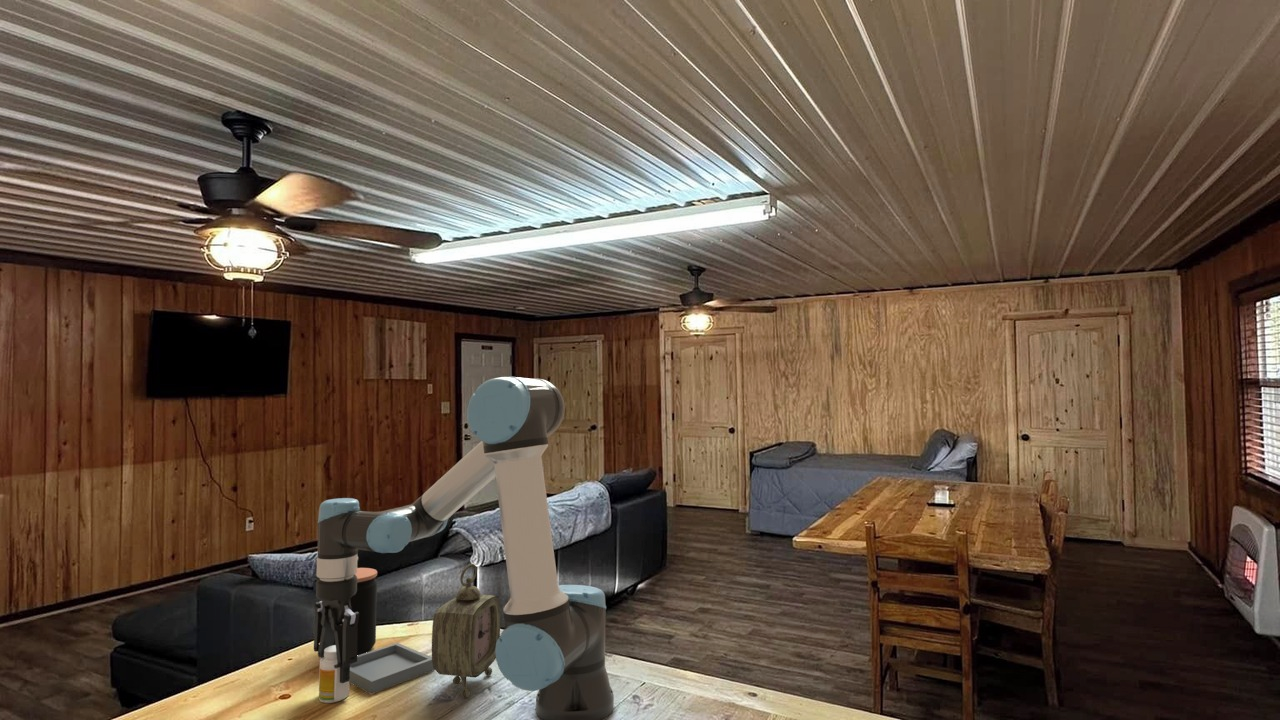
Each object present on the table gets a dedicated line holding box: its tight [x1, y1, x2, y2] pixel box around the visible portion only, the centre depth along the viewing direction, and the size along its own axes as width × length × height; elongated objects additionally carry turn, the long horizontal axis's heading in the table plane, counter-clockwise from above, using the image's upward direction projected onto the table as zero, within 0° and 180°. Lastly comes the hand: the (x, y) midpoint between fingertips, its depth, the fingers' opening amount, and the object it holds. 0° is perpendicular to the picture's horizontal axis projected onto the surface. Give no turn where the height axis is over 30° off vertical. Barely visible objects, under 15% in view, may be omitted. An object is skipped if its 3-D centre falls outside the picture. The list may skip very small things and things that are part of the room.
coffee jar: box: [334, 567, 378, 655], centre depth 157 cm, size 11×11×18 cm
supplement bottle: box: [318, 645, 347, 704], centre depth 132 cm, size 5×5×10 cm
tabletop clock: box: [431, 563, 501, 698], centre depth 138 cm, size 14×9×25 cm, turn 168°
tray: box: [349, 642, 436, 695], centre depth 144 cm, size 15×15×2 cm
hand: (333, 693), depth 132 cm, fingers closed on supplement bottle, 5 cm apart
